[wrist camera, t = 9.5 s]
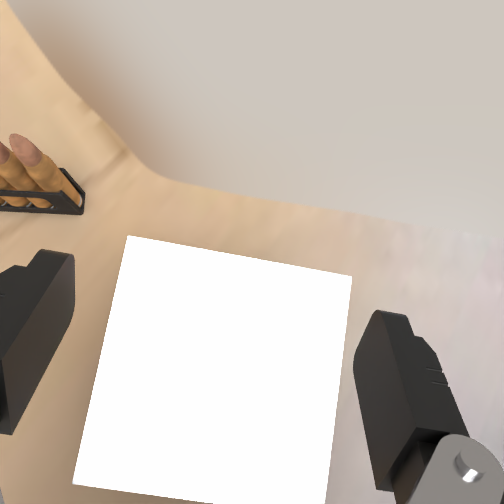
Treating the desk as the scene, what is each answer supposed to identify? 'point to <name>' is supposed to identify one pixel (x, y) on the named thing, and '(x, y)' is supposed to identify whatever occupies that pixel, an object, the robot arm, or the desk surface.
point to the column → (216, 378)
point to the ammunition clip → (35, 182)
